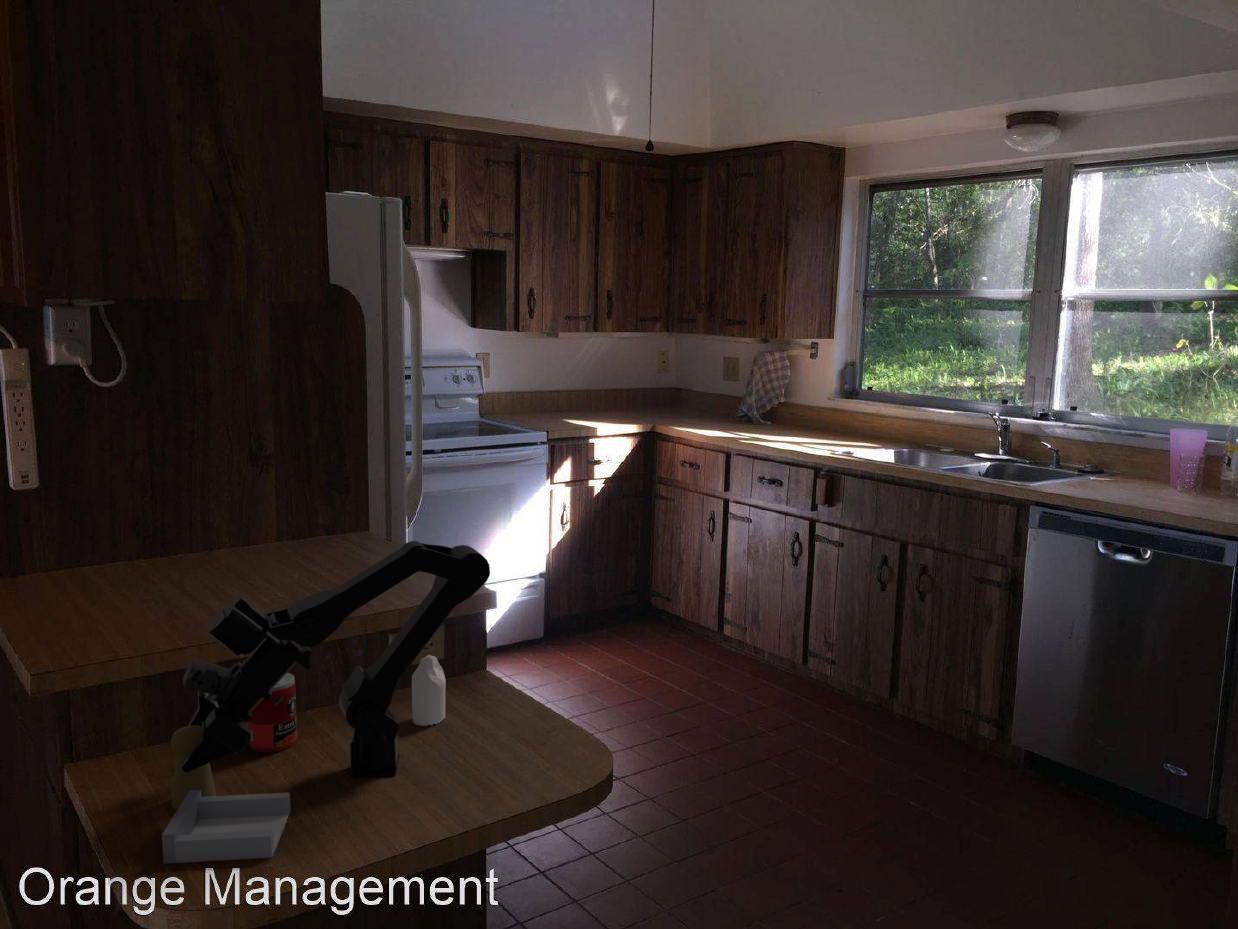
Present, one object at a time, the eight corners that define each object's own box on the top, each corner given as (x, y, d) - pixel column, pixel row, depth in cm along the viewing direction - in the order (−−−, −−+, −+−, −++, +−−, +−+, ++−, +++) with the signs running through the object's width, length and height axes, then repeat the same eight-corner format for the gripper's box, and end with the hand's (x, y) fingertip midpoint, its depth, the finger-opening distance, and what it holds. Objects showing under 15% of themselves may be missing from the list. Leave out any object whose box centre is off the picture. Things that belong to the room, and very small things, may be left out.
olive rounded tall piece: (180, 791, 149) (175, 721, 147) (222, 790, 150) (218, 720, 148) (165, 811, 143) (160, 738, 141) (209, 810, 144) (205, 737, 142)
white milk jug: (430, 646, 178) (452, 652, 174) (432, 710, 180) (453, 718, 176) (403, 654, 173) (425, 662, 170) (405, 721, 175) (426, 729, 172)
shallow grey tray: (290, 812, 143) (289, 786, 143) (272, 857, 131) (270, 829, 131) (191, 817, 142) (189, 790, 141) (163, 863, 130) (161, 834, 129)
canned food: (282, 755, 161) (279, 690, 160) (237, 750, 163) (233, 685, 161) (306, 735, 169) (303, 673, 167) (263, 731, 170) (260, 669, 169)
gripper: (212, 622, 153) (136, 702, 150) (221, 661, 136) (135, 752, 133) (269, 665, 157) (196, 743, 154) (284, 707, 141) (202, 797, 138)
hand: (182, 757), depth 145 cm, fingers open, 9 cm apart
